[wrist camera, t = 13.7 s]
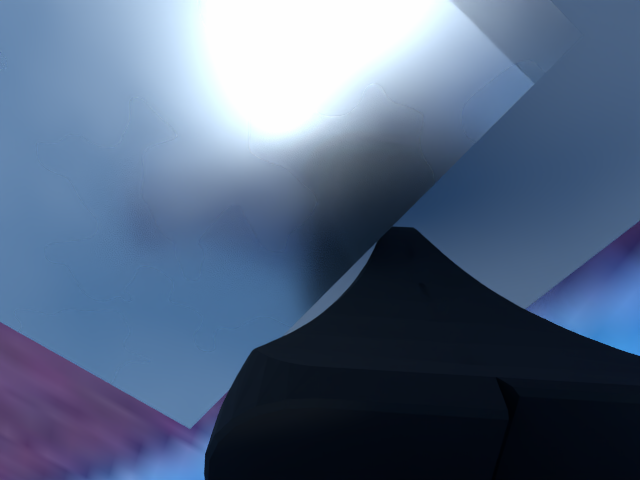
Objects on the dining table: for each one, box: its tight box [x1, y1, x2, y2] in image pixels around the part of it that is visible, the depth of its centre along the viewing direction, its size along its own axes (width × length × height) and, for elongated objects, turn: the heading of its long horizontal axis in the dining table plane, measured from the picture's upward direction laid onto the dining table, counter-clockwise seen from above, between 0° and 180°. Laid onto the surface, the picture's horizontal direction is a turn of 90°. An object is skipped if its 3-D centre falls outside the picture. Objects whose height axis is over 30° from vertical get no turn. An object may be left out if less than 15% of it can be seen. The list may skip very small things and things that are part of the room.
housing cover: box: [0, 0, 583, 429], centre depth 10 cm, size 10×9×6 cm
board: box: [283, 0, 640, 336], centre depth 13 cm, size 16×17×2 cm
